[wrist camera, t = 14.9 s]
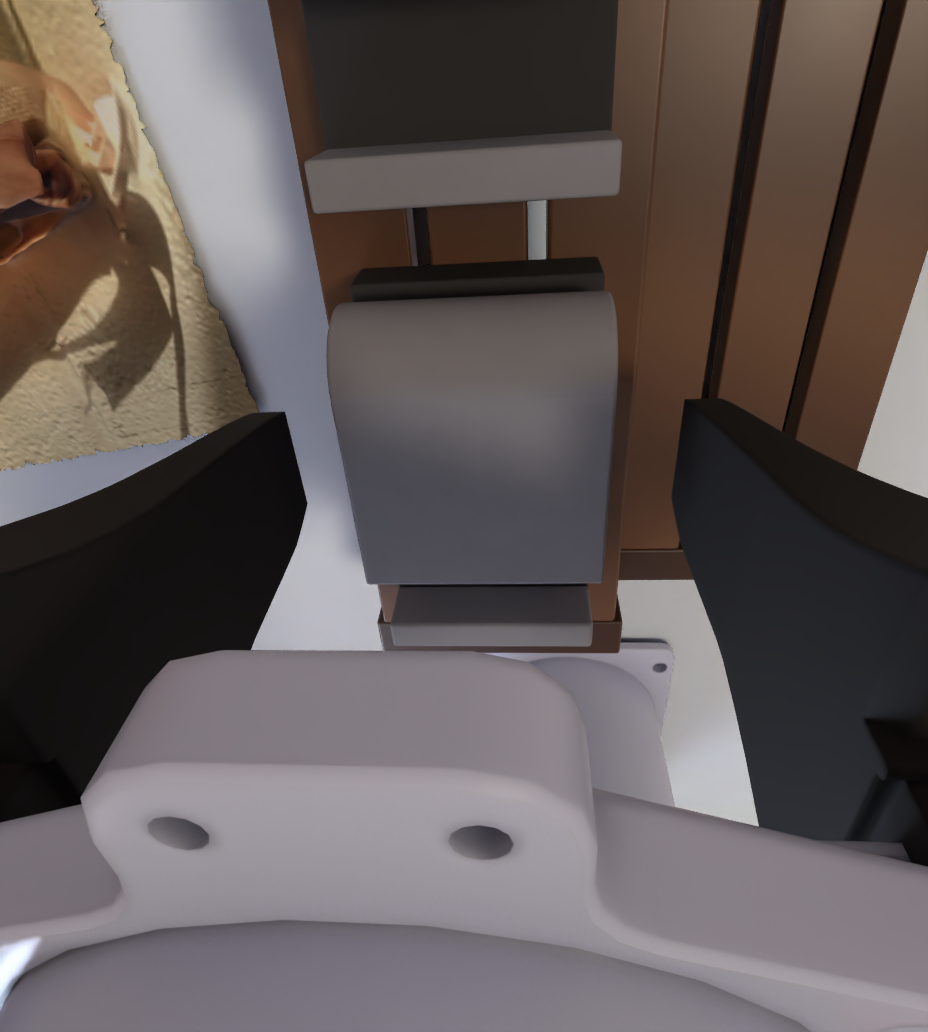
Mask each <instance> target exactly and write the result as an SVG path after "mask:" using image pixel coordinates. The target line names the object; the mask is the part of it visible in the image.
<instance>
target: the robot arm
mask: <svg viewBox="0 0 928 1032" xmlns="http://www.w3.org/2000/svg"><path fill="white" fill-rule="evenodd" d="M671 499H672V504H673V509H674V515H675V520H676V525H677V529H678V534H679V539H680V543H681V545H682V548H683V551H684V554H685V557H686V559H687V562H688V565H689V567H690V570H691V573H692V576H693V578H694V581H695V584H696V586H697V589H698V591H699V594H700V597H701V599H702V602H703V605H704V607H705V610H706V613H707V615H708V618H709V621H710V623H711V626H712V628H713V631H714V634H715V636H716V639H717V643H718V646H719V649H720V652H721V655H722V658H723V662H724V666H725V670H726V674H727V678H728V682H729V687H730V691H731V695H732V699H733V703H734V707H735V712H736V716H737V721H738V725H739V730H740V735H741V739H742V744H743V748H744V753H745V757H746V762H747V767H748V772H749V777H750V782H751V788H752V793H753V798H754V803H755V808H756V813H757V818H758V823H759V827H757V826H753V825H749V824H745V823H740V822H736V821H732V820H728V819H723V818H719V817H715V816H711V815H707V814H702V813H698V812H694V811H690V810H685V809H681V808H677V807H675V804H674V799H673V794H672V789H671V784H670V779H669V775H668V770H667V765H666V760H665V755H664V750H663V745H662V741H661V736H662V730H663V724H664V718H665V712H666V706H667V700H668V694H669V688H670V682H671V676H672V670H673V664H674V659H675V657H674V652H673V648H672V647H671V646H670V645H668V644H666V643H620V651H619V653H479V652H474V651H315V650H251V648H252V645H253V643H254V640H255V638H256V635H257V633H258V631H259V629H260V627H261V624H262V622H263V620H264V618H265V615H266V613H267V611H268V609H269V607H270V604H271V602H272V600H273V598H274V596H275V593H276V591H277V589H278V587H279V585H280V582H281V580H282V578H283V576H284V573H285V571H286V569H287V567H288V564H289V562H290V560H291V558H292V555H293V553H294V550H295V548H296V546H297V542H298V539H299V535H300V531H301V528H302V524H303V520H304V516H305V512H306V508H307V500H306V496H305V492H304V488H303V484H302V480H301V476H300V471H299V467H298V463H297V459H296V455H295V451H294V447H293V443H292V439H291V435H290V431H289V427H288V423H287V419H286V415H285V412H263V413H251V414H248V415H246V416H243V417H241V418H239V419H236V420H234V421H232V422H230V423H228V424H226V425H225V426H223V427H221V428H219V429H217V430H215V431H213V432H212V433H210V434H208V435H206V436H204V437H203V438H201V439H199V440H197V441H195V442H194V443H192V444H190V445H188V446H187V447H185V448H183V449H181V450H179V451H178V452H176V453H174V454H172V455H170V456H168V457H166V458H165V459H163V460H161V461H159V462H157V463H155V464H153V465H151V466H149V467H147V468H145V469H143V470H141V471H139V472H137V473H135V474H133V475H131V476H130V477H128V478H126V479H124V480H121V481H119V482H117V483H115V484H113V485H111V486H109V487H106V488H104V489H102V490H100V491H97V492H95V493H92V494H90V495H88V496H85V497H83V498H80V499H78V500H75V501H73V502H70V503H68V504H65V505H63V506H60V507H57V508H55V509H52V510H49V511H46V512H43V513H40V514H37V515H34V516H31V517H28V518H25V519H22V520H19V521H16V522H13V523H10V524H7V525H4V526H1V527H0V1032H928V498H926V497H923V496H920V495H917V494H914V493H911V492H909V491H906V490H903V489H901V488H898V487H896V486H893V485H891V484H888V483H886V482H883V481H881V480H878V479H876V478H873V477H871V476H868V475H866V474H864V473H861V472H859V471H857V470H855V469H852V468H850V467H848V466H846V465H844V464H842V463H840V462H838V461H836V460H834V459H832V458H830V457H828V456H826V455H824V454H822V453H820V452H818V451H816V450H814V449H812V448H810V447H808V446H807V445H805V444H803V443H801V442H799V441H798V440H796V439H794V438H792V437H790V436H789V435H787V434H785V433H783V432H782V431H780V430H778V429H776V428H775V427H773V426H771V425H770V424H768V423H766V422H765V421H763V420H761V419H759V418H758V417H756V416H754V415H753V414H751V413H749V412H748V411H746V410H744V409H742V408H740V407H739V406H737V405H735V404H733V403H731V402H729V401H727V400H724V399H722V398H710V399H685V400H684V407H683V415H682V422H681V429H680V437H679V444H678V451H677V458H676V466H675V473H674V480H673V488H672V495H671ZM658 663H662V664H659V665H656V664H658Z"/></svg>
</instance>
